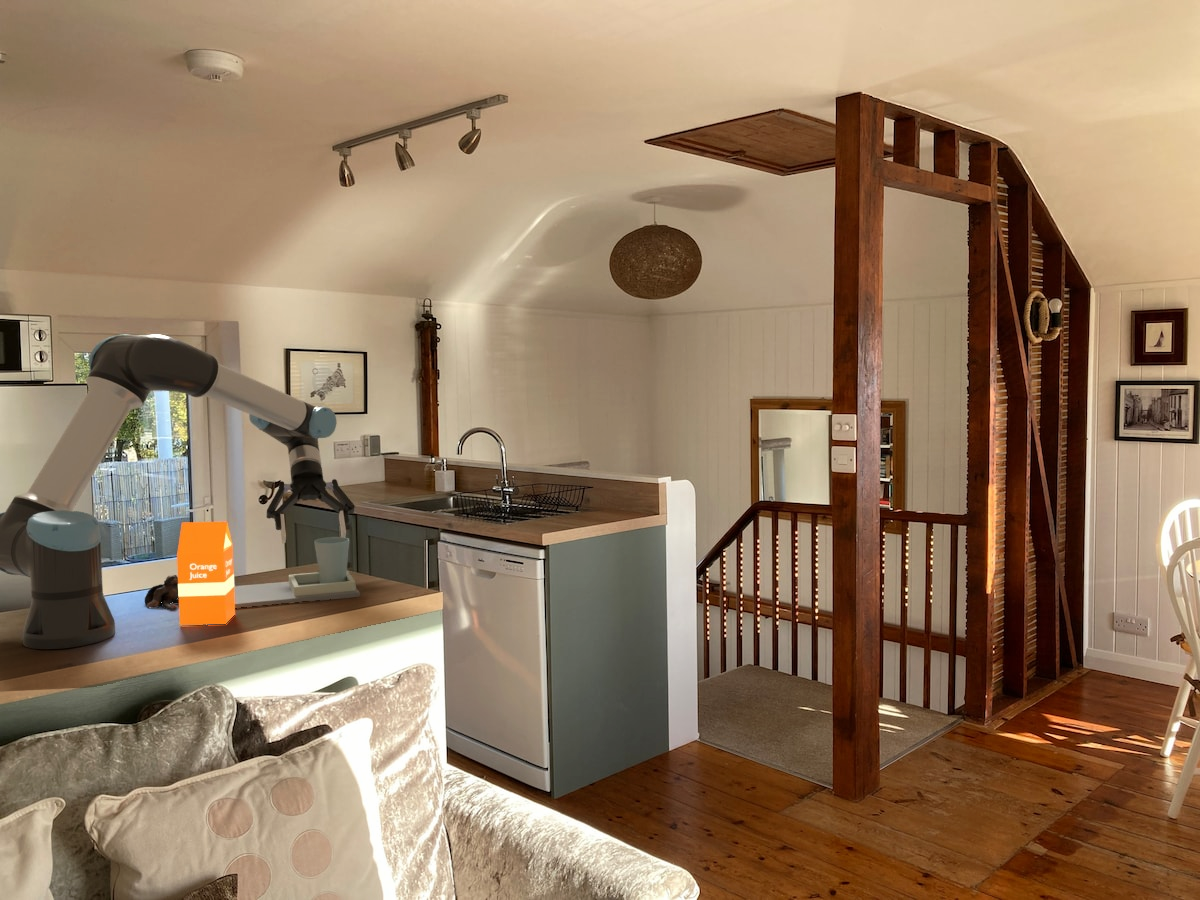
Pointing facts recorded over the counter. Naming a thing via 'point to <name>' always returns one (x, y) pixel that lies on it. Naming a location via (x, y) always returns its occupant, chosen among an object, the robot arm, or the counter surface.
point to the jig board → (294, 591)
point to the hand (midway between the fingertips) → (314, 538)
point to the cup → (332, 559)
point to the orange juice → (205, 573)
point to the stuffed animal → (164, 594)
